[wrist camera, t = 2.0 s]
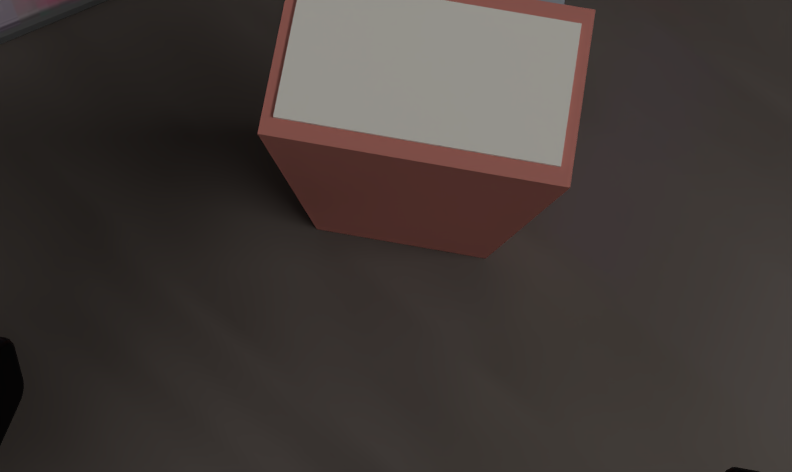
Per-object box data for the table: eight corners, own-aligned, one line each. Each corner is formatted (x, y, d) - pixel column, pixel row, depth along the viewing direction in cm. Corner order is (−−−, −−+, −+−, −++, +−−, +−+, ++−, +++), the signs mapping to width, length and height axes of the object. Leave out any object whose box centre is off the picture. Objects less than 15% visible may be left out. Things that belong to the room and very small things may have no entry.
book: (485, 258, 21) (571, 186, 12) (316, 229, 22) (256, 132, 12) (500, 159, 22) (596, 8, 12) (335, 131, 22) (292, -44, 12)
